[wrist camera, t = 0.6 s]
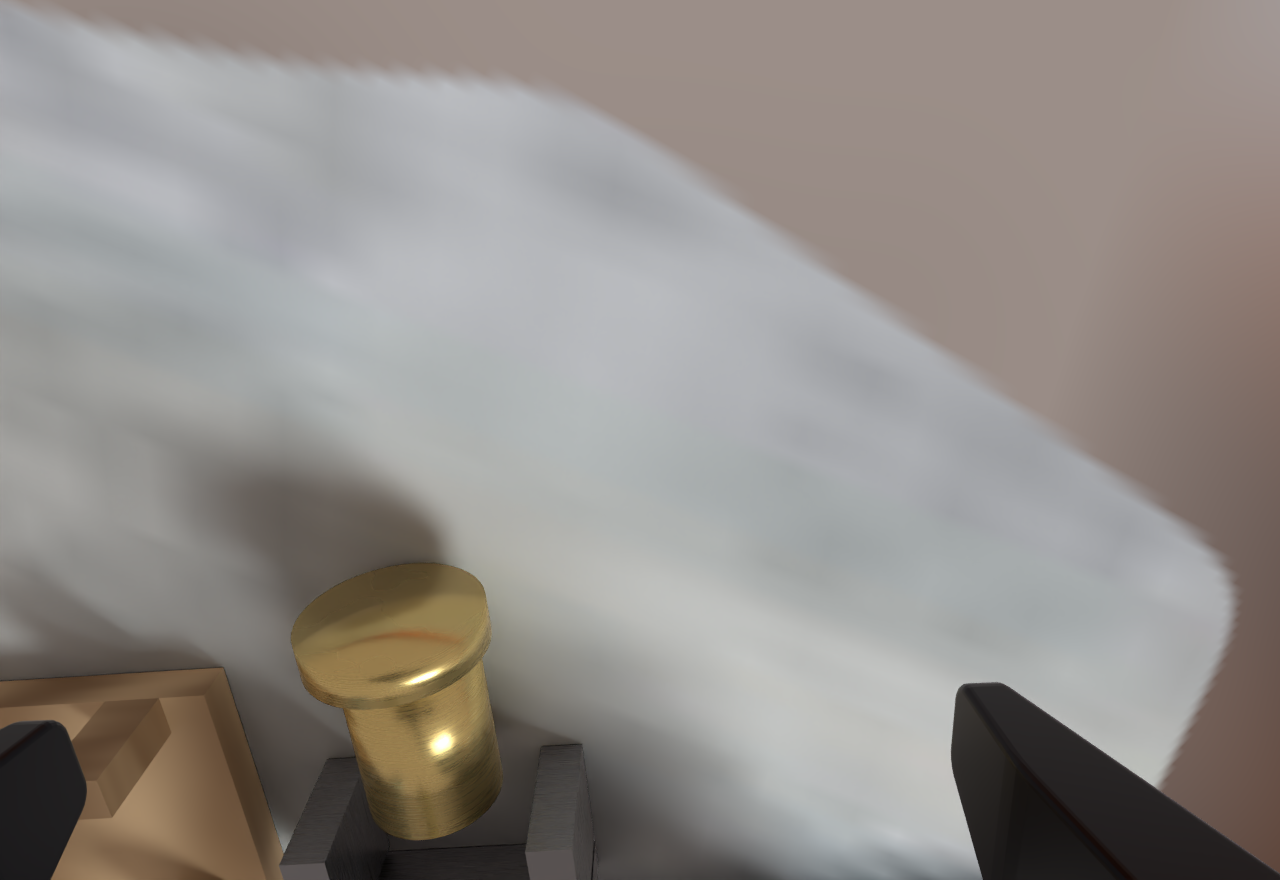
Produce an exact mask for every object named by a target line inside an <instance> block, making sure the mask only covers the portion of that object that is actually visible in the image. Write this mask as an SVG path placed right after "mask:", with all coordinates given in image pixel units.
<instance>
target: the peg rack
mask: <svg viewBox="0 0 1280 880" xmlns="http://www.w3.org/2000/svg"><path fill="white" fill-rule="evenodd" d="M34 720H55V721H58V722H60V723H61V724H62V725H63V726H64V727H65V728H66V729H67V731H68V734H69V736H70V739H71V742H72V744H73V747H74V750H75V752H76V755H77V758H78V760H79V763H80V766H81V768H82V771H83V774H84V776H85V779H86V783H87V796H86V801H85V805H84V808H83V811H82V813H81V815H80V817H79V819H78V822H77V824H76V826H75V828H74V830H73V832H72V835H71V837H70V839H69V841H68V843H67V845H66V848H65V850H64V852H63V854H62V856H61V858H60V861H59V863H58V865H57V867H56V869H55V872H54V874H53V876H52V878H51V880H283V877H282V874H281V871H280V868H279V864H280V862H281V860H282V857H283V855H284V854H283V851H282V848H281V845H280V842H279V838H278V835H277V832H276V829H275V826H274V823H273V820H272V817H271V814H270V811H269V807H268V804H267V801H266V798H265V795H264V792H263V789H262V786H261V783H260V780H259V776H258V773H257V770H256V767H255V764H254V761H253V758H252V755H251V752H250V749H249V746H248V742H247V739H246V736H245V733H244V730H243V727H242V724H241V721H240V718H239V715H238V711H237V708H236V705H235V702H234V699H233V696H232V693H231V690H230V687H229V684H228V680H227V677H226V674H225V671H224V668H223V667H222V668H206V669H191V670H175V671H159V672H143V673H127V674H112V675H96V676H80V677H64V678H48V679H32V680H17V681H1V682H0V729H2V728H4V727H6V726H8V725H10V724H12V723H15V722H19V721H34Z"/></svg>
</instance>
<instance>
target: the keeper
mask: <svg viewBox="0 0 1280 880" xmlns="http://www.w3.org/2000/svg"><path fill="white" fill-rule="evenodd" d="M389 845H390V844H389V840H388V837H387V833H386V832H385V831H383V830H382V829H381V828H380V827H378V825H377V824H376V823H375V822H374V820H373V818H372V816H371V812H370V808H369V805H368V801H367V797H366V793H365V789H364V786H363V782H362V778H361V774H360V771H359V767H358V763H357V759H356V758H341V759H327V761H326V763H325V765H324V767H323V769H322V772H321V774H320V776H319V778H318V780H317V783H316V785H315V787H314V789H313V791H312V794H311V796H310V798H309V800H308V802H307V805H306V807H305V809H304V811H303V813H302V816H301V818H300V820H299V822H298V824H297V827H296V829H295V831H294V833H293V835H292V838H291V840H290V842H289V844H288V846H287V849H286V851H285V853H284V855H283V857H282V860H281V862H280V864H279V868H280V871H281V874H282V877H283V880H598V857H597V850H596V842H595V841H594V828H593V820H592V813H591V806H590V799H589V791H588V784H587V777H586V769H585V762H584V755H583V748H582V744H580V745H563V746H546V747H541V753H540V759H539V766H538V772H537V779H536V785H535V792H534V798H533V805H532V811H531V817H530V824H529V830H528V837H527V843H526V844H523V845H504V846H486V847H467V848H449V849H431V850H412V851H394V852H387V851H388V848H389Z"/></svg>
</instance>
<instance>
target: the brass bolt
mask: <svg viewBox="0 0 1280 880" xmlns="http://www.w3.org/2000/svg"><path fill="white" fill-rule="evenodd" d="M491 635H492V631H491V623H490V617H489V612H488V606H487V600H486V595H485V591H484V588H483V586H482V584H481V583H480V581H479V580H478V579H477V578H476V577H474V576H473V575H471V574H470V573H468V572H466V571H464V570H462V569H459V568H456V567H453V566H448V565H443V564H435V563H412V564H402V565H396V566H390V567H386V568H381V569H377V570H374V571H370V572H367V573H364V574H361V575H359V576H356V577H353V578H351V579H349V580H346V581H344V582H342V583H340V584H338V585H336V586H334V587H333V588H331V589H329V590H328V591H326V592H325V593H323V594H322V595H320V596H319V597H318V598H316V599H315V600H314V601H313V602H312V603H310V604H309V605H308V606H307V607H306V608H305V609H304V610H303V612H302V613H301V614H300V616H299V617H298V618H297V620H296V622H295V624H294V626H293V629H292V632H291V643H292V648H293V651H294V655H295V658H296V662H297V666H298V669H299V673H300V676H301V680H302V683H303V685H304V687H305V689H306V690H307V691H308V692H309V693H310V694H311V695H312V696H313V697H315V698H316V699H317V700H319V701H321V702H323V703H325V704H328V705H331V706H334V707H339V708H343V710H344V714H345V718H346V722H347V725H348V729H349V733H350V737H351V740H352V744H353V748H354V752H355V755H356V759H357V763H358V767H359V771H360V774H361V778H362V782H363V786H364V789H365V793H366V797H367V801H368V805H369V808H370V812H371V816H372V818H373V820H374V822H375V823H376V824H377V825H378V827H380V828H381V829H382V830H383V831H385V832H386V833H388V834H390V835H392V836H395V837H398V838H402V839H408V840H427V839H434V838H439V837H443V836H446V835H449V834H452V833H454V832H457V831H459V830H461V829H463V828H465V827H467V826H468V825H470V824H471V823H473V822H474V821H476V820H477V819H478V818H479V817H481V816H482V815H483V814H484V813H485V812H486V811H487V810H488V809H489V808H490V807H491V805H492V804H493V803H494V801H495V800H496V798H497V797H498V794H499V792H500V790H501V786H502V782H503V770H502V765H501V759H500V754H499V748H498V743H497V738H496V732H495V727H494V721H493V716H492V710H491V705H490V700H489V694H488V689H487V683H486V678H485V672H484V667H483V662H482V657H483V656H484V654H485V653H486V651H487V649H488V647H489V644H490V641H491Z"/></svg>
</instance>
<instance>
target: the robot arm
mask: <svg viewBox="0 0 1280 880" xmlns="http://www.w3.org/2000/svg"><path fill="white" fill-rule="evenodd" d="M951 762H952V769H953V774H954V778H955V782H956V785H957V789H958V793H959V796H960V800H961V803H962V807H963V810H964V814H965V817H966V821H967V825H968V828H969V832H970V835H971V839H972V842H973V846H974V850H975V853H976V857H977V860H978V864H979V867H980V871H981V874H982V878H983V880H1280V873H1278V872H1277V871H1275V870H1274V869H1272V868H1271V867H1270V866H1268V865H1267V864H1265V863H1264V862H1262V861H1261V860H1259V859H1258V858H1256V857H1255V856H1253V855H1252V854H1251V853H1249V852H1248V851H1246V850H1245V849H1243V848H1242V847H1241V846H1239V845H1238V844H1236V843H1235V842H1233V841H1232V840H1230V839H1229V838H1227V837H1226V836H1225V835H1223V834H1222V833H1220V832H1219V831H1217V830H1216V829H1214V828H1213V827H1211V826H1210V825H1208V824H1207V823H1206V822H1204V821H1203V820H1201V819H1200V818H1198V817H1197V816H1196V815H1194V814H1193V813H1191V812H1190V811H1188V810H1187V809H1185V808H1184V807H1182V806H1181V805H1180V804H1178V803H1177V802H1175V801H1174V800H1172V799H1171V798H1169V797H1168V796H1166V795H1165V794H1164V793H1162V792H1161V791H1159V790H1158V789H1156V788H1155V787H1153V786H1152V785H1151V784H1149V783H1148V782H1146V781H1145V780H1143V779H1142V778H1140V777H1139V776H1137V775H1136V774H1135V773H1133V772H1132V771H1130V770H1129V769H1127V768H1126V767H1124V766H1123V765H1122V764H1120V763H1119V762H1117V761H1116V760H1114V759H1113V758H1111V757H1110V756H1108V755H1107V754H1106V753H1104V752H1103V751H1101V750H1100V749H1098V748H1097V747H1095V746H1094V745H1092V744H1091V743H1090V742H1088V741H1087V740H1085V739H1084V738H1082V737H1081V736H1079V735H1078V734H1077V733H1075V732H1074V731H1072V730H1071V729H1069V728H1068V727H1066V726H1065V725H1063V724H1062V723H1061V722H1059V721H1058V720H1056V719H1055V718H1053V717H1052V716H1050V715H1049V714H1047V713H1046V712H1045V711H1043V710H1042V709H1040V708H1039V707H1037V706H1036V705H1034V704H1033V703H1032V702H1030V701H1029V700H1027V699H1026V698H1024V697H1023V696H1021V695H1020V694H1018V693H1017V692H1016V691H1014V690H1013V689H1011V688H1010V687H1008V686H1006V685H1005V684H1002V683H998V682H992V683H968V684H963V685H962V686H961V687H960V688H959V689H958V691H957V694H956V699H955V711H954V722H953V733H952V744H951ZM86 796H87V783H86V779H85V776H84V774H83V771H82V768H81V766H80V763H79V760H78V758H77V755H76V752H75V750H74V747H73V744H72V742H71V739H70V736H69V734H68V731H67V729H66V728H65V727H64V726H63V725H62V724H61V723H60V722H58V721H55V720H34V721H19V722H15V723H12V724H10V725H8V726H6V727H4V728H2V729H0V880H51V878H52V876H53V874H54V872H55V869H56V867H57V865H58V863H59V861H60V858H61V856H62V854H63V852H64V850H65V848H66V845H67V843H68V841H69V839H70V837H71V835H72V832H73V830H74V828H75V826H76V824H77V822H78V819H79V817H80V815H81V813H82V811H83V808H84V805H85V801H86Z"/></svg>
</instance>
